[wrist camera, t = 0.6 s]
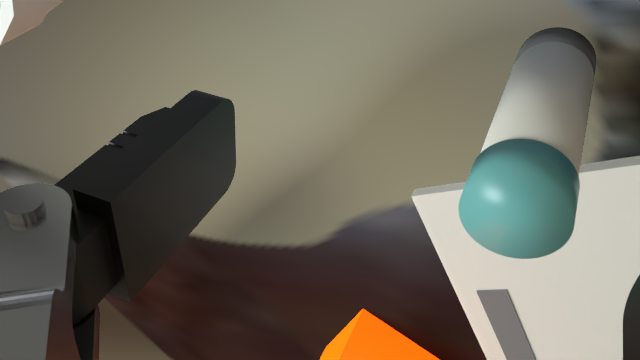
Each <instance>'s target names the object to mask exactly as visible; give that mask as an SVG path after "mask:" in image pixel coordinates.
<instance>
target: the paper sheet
mask: <svg viewBox="0 0 640 360" xmlns="http://www.w3.org/2000/svg"><path fill="white" fill-rule="evenodd" d="M579 181H580V190H579V197H578V204H577V210H576V217H575V224H574V230H573V233H572V235H571V237H570V239H569V240H568V241H567V243H566V244H565V245H564V246H563V247H562V248H560V249H559V250H557V251H556V252H554V253H552V254H549V255H546V256H544V257H539V258H532V259H518V258H511V257H506V256H503V255H499V254H497V253H494V252H492V251H490V250H488V249H486V248H484V247H483V246H481V245H480V244H479V243H477V242H476V241H475V240H474V239H473V238H472V237H471V236H470V235H469V234H468V233H467V231H466V230H465V228H464V227H463V225H462V223H461V220H460V217H459V209H458V206H459V200H460V197H461V195H462V192H463V189H464V187H465V184H466V182H467V181H465V182H458V183H452V184H445V185H438V186H431V187H424V188H417V189H415V190H414V192H413V194H412V196H411V197H412V199H413V202H414V204H415V206H416V208H417V210H418V212H419V214H420V217H421V219H422V221H423V223H424V225H425V227H426V229H427V232H428V234H429V236H430V238H431V240H432V242H433V245H434V247H435V249H436V251H437V253H438V255H439V257H440V260H441V262H442V264H443V266H444V268H445V270H446V272H447V275H448V277H449V279H450V281H451V283H452V285H453V288H454V290H455V292H456V294H457V296H458V298H459V300H460V303H461V305H462V307H463V309H464V311H465V313H466V316H467V318H468V320H469V322H470V324H471V326H472V328H473V331H474V333H475V335H476V337H477V339H478V341H479V343H480V346H481V348H482V350H483V352H484V354H485V356H486V359H487V360H623V314H624V309H625V305H626V301H627V298H628V296H629V293H630V291H631V289H632V287H633V285H634V283H635V281H636V280H637V278H638V276H639V275H640V156H634V157H627V158H621V159H614V160H607V161H600V162H594V163H587V164H580V170H579Z"/></svg>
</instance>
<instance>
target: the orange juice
mask: <svg viewBox="0 0 640 360" xmlns="http://www.w3.org/2000/svg"><path fill="white" fill-rule="evenodd" d="M320 360H440V359H438V358H437V357H435V356H434V355H432V354H431V353H429V352H428V351H426V350H425V349H423V348H422V347H420V346H419V345H417V344H416V343H414V342H413V341H411V340H410V339H408V338H407V337H405V336H404V335H402V334H401V333H399V332H398V331H396V330H395V329H393V328H392V327H390V326H389V325H387V324H386V323H384V322H383V321H381V320H380V319H378V318H377V317H375V316H374V315H372V314H371V313H369V312H368V311H366V310H365V309H362V310H361V311H360V312H359V313H358V314H357V315H356V316H355V317H354V319H353V320H352V321H351V322H350V323H349V324H348V325H347V326H346V327H345V328H344V329H343V330H342V331H341V332H340V333H339V334H338V335H337V336H336V337H335V338H334V339H333V340H332V341H331V342H330V343H329V344H328V346H327V347H326V348H325V350H324V352H323V354H322V356H321V358H320Z"/></svg>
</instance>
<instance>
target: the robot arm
mask: <svg viewBox="0 0 640 360" xmlns="http://www.w3.org/2000/svg"><path fill="white" fill-rule="evenodd" d="M235 149H236V147H235V112H234V105H233V103H232V101H231V100H229V99H225V98H222V97H219V96H215V95H211V94H208V93H204V92H201V91H197V90H194V91H191V92H190V93H189V94H187V95H186V96H185V97H184V98H183V99H181V100H180V101H179V102H178V103H176V104H175V105H174V106H173V107H172V108H167V107H164V108H162V109H160V110H157V111H154V112H152V113H150V114H147V115H144V116H142V117H140V118H139V119H138V120H136V121H135V122H134V123H133V124H131V125H130V126H129V127H127V128H126V129H125V130H124V131H123V134H119V135H117V136H116V137H115V138H114V139H112V140H111V141H110V142H109V145H108V146H107V145H105V146H103V147H102V148H101V149H100V150H98V151H97V152H96V153H94V154H93V155H92V156H91V157H89V158H88V159H87V160H86V161H84V162H83V163H82V164H81V165H79V166H78V167H77V168H75V169H74V170H73V171H72V172H70V173H69V174H68V175H67V176H65V177H64V178H63V179H61V180H60V181H59V182H58V183H56V184H55V185H50V184H43V183H33V184H25V185H20V186H16V187H13V188H10V189H7V190H5V191H3V192H0V360H99V326H100V325H99V324H100V312H99V307H98V303H99V302H100V301H101V300H102V299H103V298H104V297H105V296H106V295H107V294H108V293H110V294H112V295H115V296H117V297H120V298H122V299H125V300H127V301H130V302H131V301H132V299H133V298H134V297H135V296H136V295H137V294H138V293H139V291H140V290H141V289H142V288H143V287H144V286H145V285H146V283H147V282H148V281H149V280H150V279H151V278H152V276H153V275H154V274H155V273H156V272H157V271H158V270H159V268H160V267H161V266H162V265H163V264H164V263H165V262H166V260H167V259H168V258H169V257H170V256H171V255H172V253H173V252H174V251H175V250H176V249H177V248H178V247H179V245H180V244H181V243H182V242H183V241H184V240H185V239H186V237H187V236H188V235H189V234H190V233H191V232H192V230H193V229H194V228H195V227H196V226H197V225H198V224H199V222H200V221H201V220H202V219H203V218H204V217H205V215H206V214H207V213H208V212H209V211H210V210H211V208H212V207H213V206H214V205H215V204H216V203H217V202H218V201H219V199H220V198H221V197H222V196H223V195H224V194H225V192H226V191H227V190H228V188H229V186H230V184H231V182H232V179H233V177H234V173H235V168H236V150H235ZM623 360H640V275H639V276H638V278H637V280H636V281H635V283H634V285H633V287H632V289H631V291H630V293H629V296H628V298H627V301H626V305H625V309H624V314H623Z"/></svg>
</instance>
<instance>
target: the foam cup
mask: <svg viewBox="0 0 640 360" xmlns="http://www.w3.org/2000/svg"><path fill="white" fill-rule="evenodd" d="M62 1H63V0H0V45H2V44H4V43H6V42H8V41H9V40H11V39H13V38H15V37H17V36H19V35H21V34H23V33H25V32H27V31H28V30H30V29H32V28H34V27H36V26H38V25H40V24H41V23H42V22H43V20H44V18H45V16H46V14H47V13H48V12H49V11H50V10H52V9H53V8H54V7H56V6H57V5H58V4H60V3H61V2H62Z"/></svg>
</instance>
